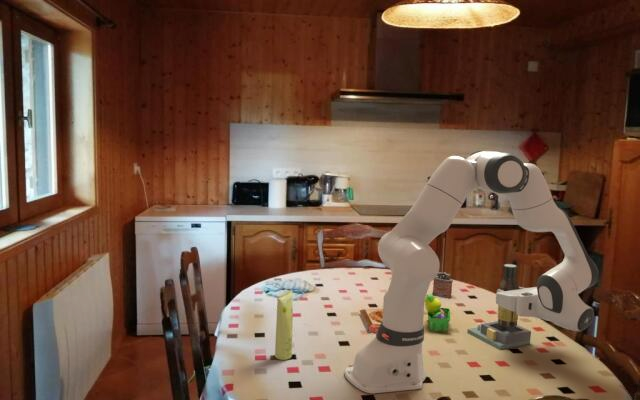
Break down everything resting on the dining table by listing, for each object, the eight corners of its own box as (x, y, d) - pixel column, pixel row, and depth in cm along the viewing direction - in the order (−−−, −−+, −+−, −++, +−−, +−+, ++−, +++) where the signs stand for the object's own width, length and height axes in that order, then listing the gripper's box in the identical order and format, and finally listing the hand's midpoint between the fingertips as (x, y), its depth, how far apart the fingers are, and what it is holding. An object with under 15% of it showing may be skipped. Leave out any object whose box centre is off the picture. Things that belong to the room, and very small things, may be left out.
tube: (293, 360, 155) (295, 295, 152) (276, 361, 153) (278, 296, 151) (290, 352, 160) (292, 289, 157) (273, 353, 159) (275, 290, 156)
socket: (502, 345, 168) (502, 336, 168) (477, 332, 178) (478, 324, 178) (530, 340, 174) (531, 331, 173) (505, 328, 183) (505, 319, 183)
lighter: (452, 297, 220) (454, 273, 219) (449, 299, 217) (451, 275, 216) (433, 293, 224) (435, 270, 223) (431, 295, 221) (432, 271, 220)
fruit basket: (449, 333, 180) (452, 301, 178) (423, 331, 181) (425, 298, 180) (448, 322, 191) (450, 291, 189) (423, 319, 193) (425, 289, 191)
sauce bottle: (512, 321, 179) (517, 263, 176) (520, 328, 173) (525, 268, 170) (493, 320, 178) (498, 262, 176) (500, 327, 172) (505, 267, 170)
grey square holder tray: (499, 349, 168) (500, 339, 168) (467, 332, 181) (468, 323, 181) (530, 343, 174) (530, 334, 173) (496, 327, 187) (497, 318, 187)
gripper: (566, 289, 167) (531, 277, 179) (517, 296, 158) (484, 283, 170) (564, 308, 167) (529, 296, 180) (515, 317, 158) (482, 302, 171)
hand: (507, 290), depth 175 cm, fingers closed on sauce bottle, 6 cm apart
